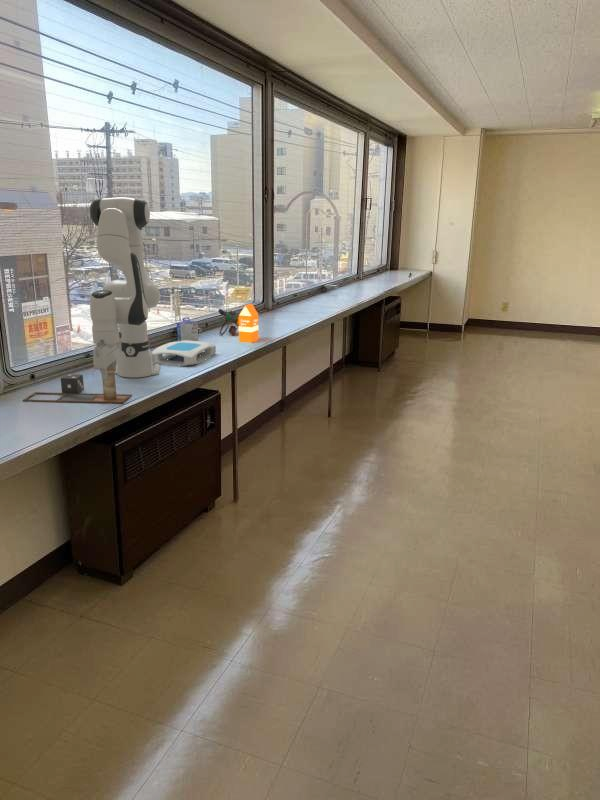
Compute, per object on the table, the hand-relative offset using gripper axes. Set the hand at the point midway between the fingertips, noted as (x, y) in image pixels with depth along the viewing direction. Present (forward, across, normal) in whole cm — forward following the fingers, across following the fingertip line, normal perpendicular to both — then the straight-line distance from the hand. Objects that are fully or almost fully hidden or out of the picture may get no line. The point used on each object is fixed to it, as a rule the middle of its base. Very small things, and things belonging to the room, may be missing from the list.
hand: (109, 375), depth 214 cm
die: (+9, +8, +17) cm, 21 cm away
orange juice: (+12, +111, -39) cm, 118 cm away
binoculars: (+13, +128, -27) cm, 131 cm away
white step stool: (+11, +66, -13) cm, 68 cm away
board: (+9, -1, +12) cm, 15 cm away
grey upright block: (+12, +96, -9) cm, 97 cm away
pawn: (+9, -1, 0) cm, 9 cm away
